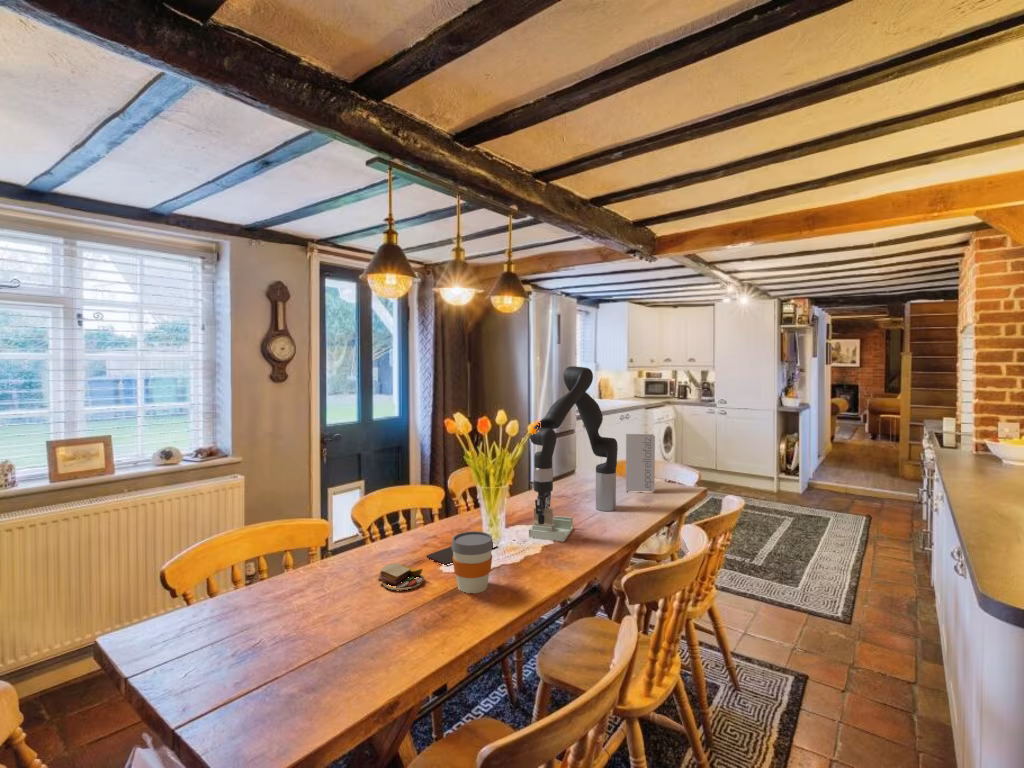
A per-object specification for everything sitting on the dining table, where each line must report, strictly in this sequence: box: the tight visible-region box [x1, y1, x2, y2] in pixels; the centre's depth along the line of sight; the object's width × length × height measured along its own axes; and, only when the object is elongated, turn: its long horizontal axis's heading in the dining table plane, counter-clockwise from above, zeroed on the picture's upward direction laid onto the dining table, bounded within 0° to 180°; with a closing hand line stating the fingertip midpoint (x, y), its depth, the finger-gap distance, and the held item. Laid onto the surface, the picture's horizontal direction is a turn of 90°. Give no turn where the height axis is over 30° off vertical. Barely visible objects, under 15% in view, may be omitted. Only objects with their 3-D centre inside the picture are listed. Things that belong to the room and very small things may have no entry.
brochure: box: [625, 433, 656, 491], centre depth 260 cm, size 14×6×30 cm, turn 81°
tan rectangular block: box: [533, 506, 554, 532], centre depth 194 cm, size 2×7×10 cm, turn 70°
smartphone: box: [425, 545, 453, 565], centre depth 178 cm, size 12×2×25 cm
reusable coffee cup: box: [451, 530, 494, 594], centre depth 150 cm, size 13×13×15 cm
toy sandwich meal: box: [377, 562, 425, 591], centre depth 154 cm, size 12×14×5 cm
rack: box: [528, 515, 574, 543], centre depth 198 cm, size 16×14×4 cm
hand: (543, 521), depth 194 cm, fingers open, 5 cm apart
